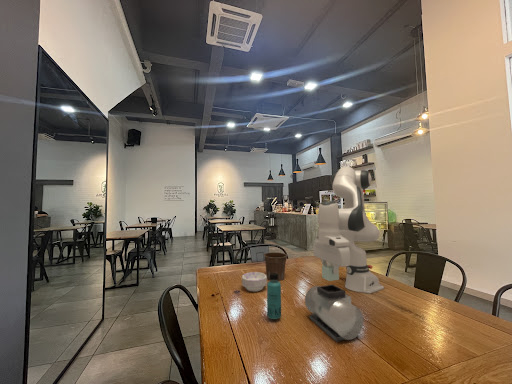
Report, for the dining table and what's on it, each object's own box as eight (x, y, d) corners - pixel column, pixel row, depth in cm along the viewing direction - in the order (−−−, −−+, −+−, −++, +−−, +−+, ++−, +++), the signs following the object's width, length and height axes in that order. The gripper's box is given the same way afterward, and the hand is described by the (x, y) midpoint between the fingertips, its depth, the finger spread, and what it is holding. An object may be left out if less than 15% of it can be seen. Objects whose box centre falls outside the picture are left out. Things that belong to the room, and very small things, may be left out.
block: (331, 276, 96) (331, 257, 96) (338, 279, 92) (338, 260, 92) (322, 277, 94) (321, 258, 95) (328, 281, 90) (328, 261, 91)
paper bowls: (253, 296, 124) (252, 281, 124) (237, 288, 135) (236, 275, 136) (272, 289, 134) (271, 275, 134) (255, 282, 145) (255, 270, 146)
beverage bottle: (266, 315, 102) (265, 271, 103) (280, 315, 102) (279, 271, 103) (268, 323, 95) (267, 276, 96) (283, 322, 96) (282, 275, 97)
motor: (322, 308, 108) (321, 276, 109) (364, 338, 84) (362, 296, 84) (300, 312, 104) (300, 279, 105) (337, 345, 80) (336, 301, 81)
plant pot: (291, 276, 156) (290, 253, 157) (281, 283, 142) (280, 258, 143) (271, 273, 165) (270, 251, 165) (259, 279, 151) (259, 255, 152)
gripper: (309, 236, 103) (310, 266, 102) (339, 243, 84) (340, 280, 83) (320, 235, 105) (321, 265, 104) (352, 242, 86) (354, 278, 85)
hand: (330, 272), depth 93 cm, fingers closed on block, 4 cm apart
